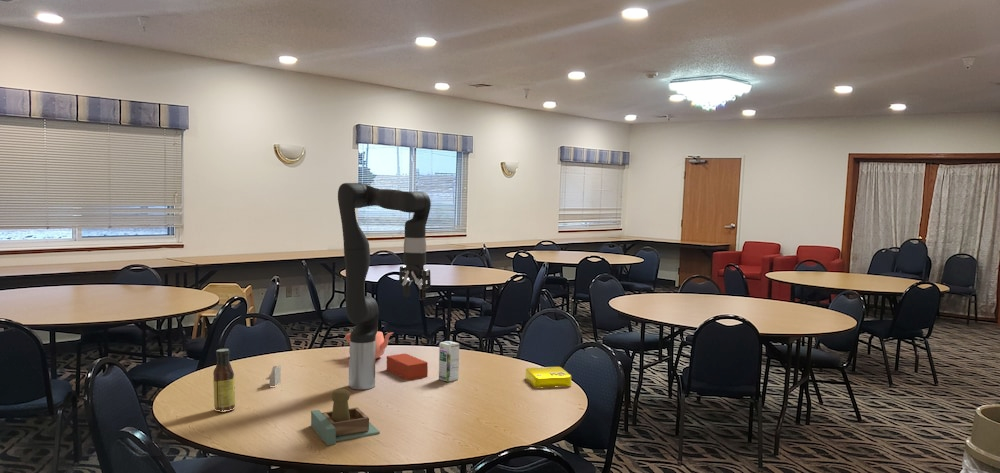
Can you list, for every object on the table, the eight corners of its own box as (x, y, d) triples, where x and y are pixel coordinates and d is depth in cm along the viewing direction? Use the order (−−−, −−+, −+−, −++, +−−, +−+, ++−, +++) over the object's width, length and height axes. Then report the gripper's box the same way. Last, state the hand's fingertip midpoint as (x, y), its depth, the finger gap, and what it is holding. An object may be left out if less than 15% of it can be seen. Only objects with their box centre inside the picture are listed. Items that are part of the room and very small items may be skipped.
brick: (427, 377, 254) (428, 362, 254) (407, 380, 249) (407, 365, 249) (405, 367, 269) (405, 353, 268) (386, 370, 263) (386, 355, 263)
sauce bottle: (239, 408, 212) (239, 348, 211) (225, 414, 206) (225, 353, 205) (223, 406, 214) (222, 346, 213) (209, 411, 208) (208, 351, 207)
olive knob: (332, 422, 196) (332, 387, 195) (352, 422, 196) (352, 387, 195) (328, 430, 190) (328, 393, 189) (349, 429, 190) (349, 393, 189)
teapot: (343, 357, 282) (343, 327, 281) (375, 352, 292) (376, 323, 291) (360, 365, 269) (360, 334, 268) (393, 360, 279) (394, 330, 278)
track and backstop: (311, 425, 198) (311, 410, 197) (362, 417, 206) (362, 403, 206) (327, 445, 182) (327, 429, 182) (382, 435, 190) (382, 420, 190)
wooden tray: (322, 425, 196) (322, 412, 196) (357, 419, 201) (357, 407, 201) (332, 436, 186) (332, 424, 186) (368, 430, 192) (369, 418, 192)
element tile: (560, 376, 259) (560, 365, 259) (572, 387, 245) (573, 375, 244) (524, 378, 256) (524, 366, 255) (534, 389, 241) (534, 376, 241)
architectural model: (265, 388, 236) (265, 368, 236) (272, 383, 243) (272, 363, 243) (274, 388, 236) (274, 368, 236) (281, 383, 243) (281, 364, 243)
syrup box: (438, 379, 251) (438, 342, 250) (449, 376, 255) (449, 340, 254) (448, 382, 247) (448, 344, 246) (459, 379, 251) (459, 342, 250)
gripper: (393, 249, 221) (392, 297, 221) (419, 252, 211) (418, 302, 211) (410, 249, 226) (410, 295, 227) (437, 251, 216) (436, 300, 217)
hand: (414, 298), depth 219 cm, fingers open, 8 cm apart
